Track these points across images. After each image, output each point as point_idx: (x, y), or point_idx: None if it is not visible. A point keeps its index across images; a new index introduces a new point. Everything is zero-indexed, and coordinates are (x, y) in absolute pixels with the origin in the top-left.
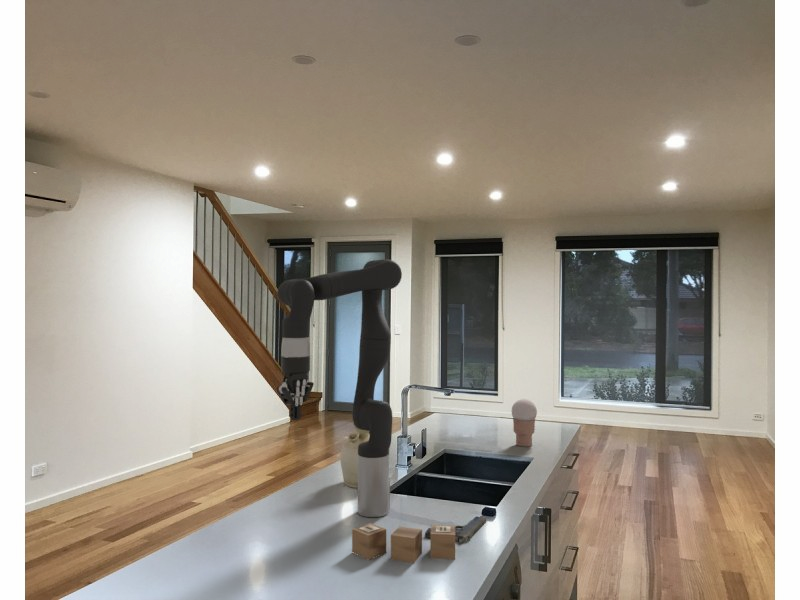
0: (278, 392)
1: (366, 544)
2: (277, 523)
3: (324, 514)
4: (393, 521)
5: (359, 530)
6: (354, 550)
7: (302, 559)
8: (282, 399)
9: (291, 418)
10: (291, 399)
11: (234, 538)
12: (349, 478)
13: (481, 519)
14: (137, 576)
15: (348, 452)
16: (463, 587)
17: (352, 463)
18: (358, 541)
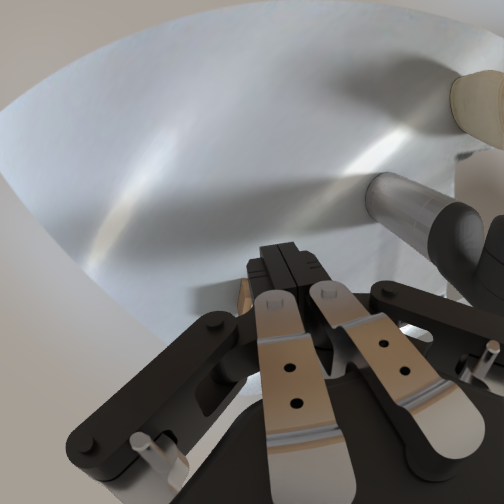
0: (97, 416)
1: (239, 315)
2: (257, 93)
3: (341, 133)
4: (369, 245)
5: (247, 308)
6: (241, 285)
7: (177, 243)
8: (166, 352)
9: (261, 252)
10: (216, 400)
11: (158, 92)
12: (458, 97)
13: (399, 327)
14: (14, 130)
15: (490, 99)
16: (247, 389)
17: (476, 108)
18: (241, 301)
